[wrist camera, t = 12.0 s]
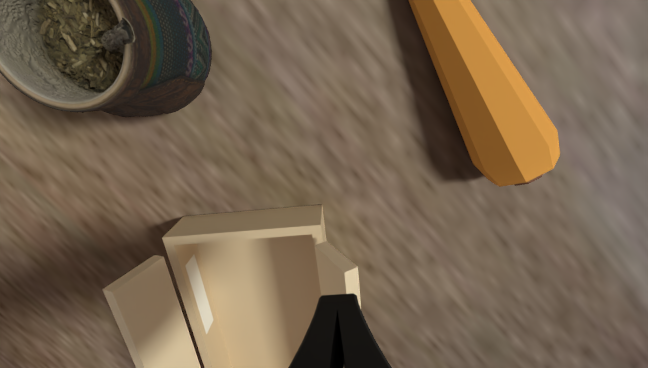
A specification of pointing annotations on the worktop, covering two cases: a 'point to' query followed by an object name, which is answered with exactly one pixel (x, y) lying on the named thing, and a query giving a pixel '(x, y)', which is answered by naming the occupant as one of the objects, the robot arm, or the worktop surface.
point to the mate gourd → (105, 54)
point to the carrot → (487, 94)
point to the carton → (248, 282)
